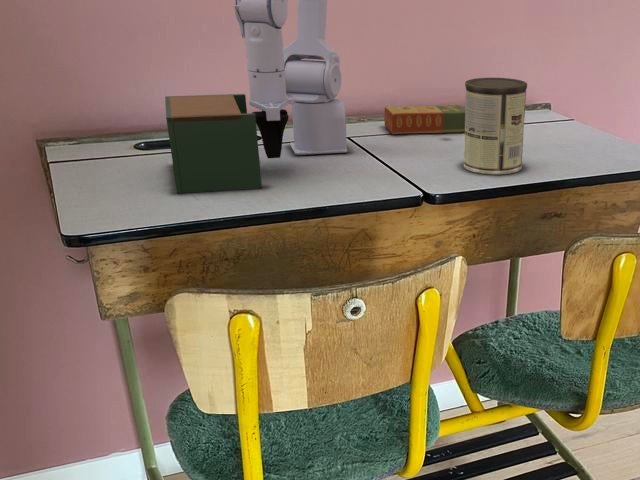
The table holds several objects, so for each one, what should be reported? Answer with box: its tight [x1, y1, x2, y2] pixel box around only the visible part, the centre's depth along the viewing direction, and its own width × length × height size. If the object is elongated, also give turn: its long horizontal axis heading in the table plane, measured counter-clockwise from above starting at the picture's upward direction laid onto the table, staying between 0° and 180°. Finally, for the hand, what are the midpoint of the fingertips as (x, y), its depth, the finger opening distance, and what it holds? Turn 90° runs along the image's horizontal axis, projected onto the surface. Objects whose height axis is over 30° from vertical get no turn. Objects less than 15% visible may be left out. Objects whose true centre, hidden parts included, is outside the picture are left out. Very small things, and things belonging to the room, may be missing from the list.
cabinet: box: [164, 93, 263, 194], centre depth 131 cm, size 13×17×11 cm
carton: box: [383, 104, 465, 135], centre depth 166 cm, size 8×16×4 cm, turn 105°
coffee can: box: [463, 77, 528, 175], centre depth 139 cm, size 10×10×14 cm
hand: (273, 157), depth 135 cm, fingers closed, pressing on trinket box
